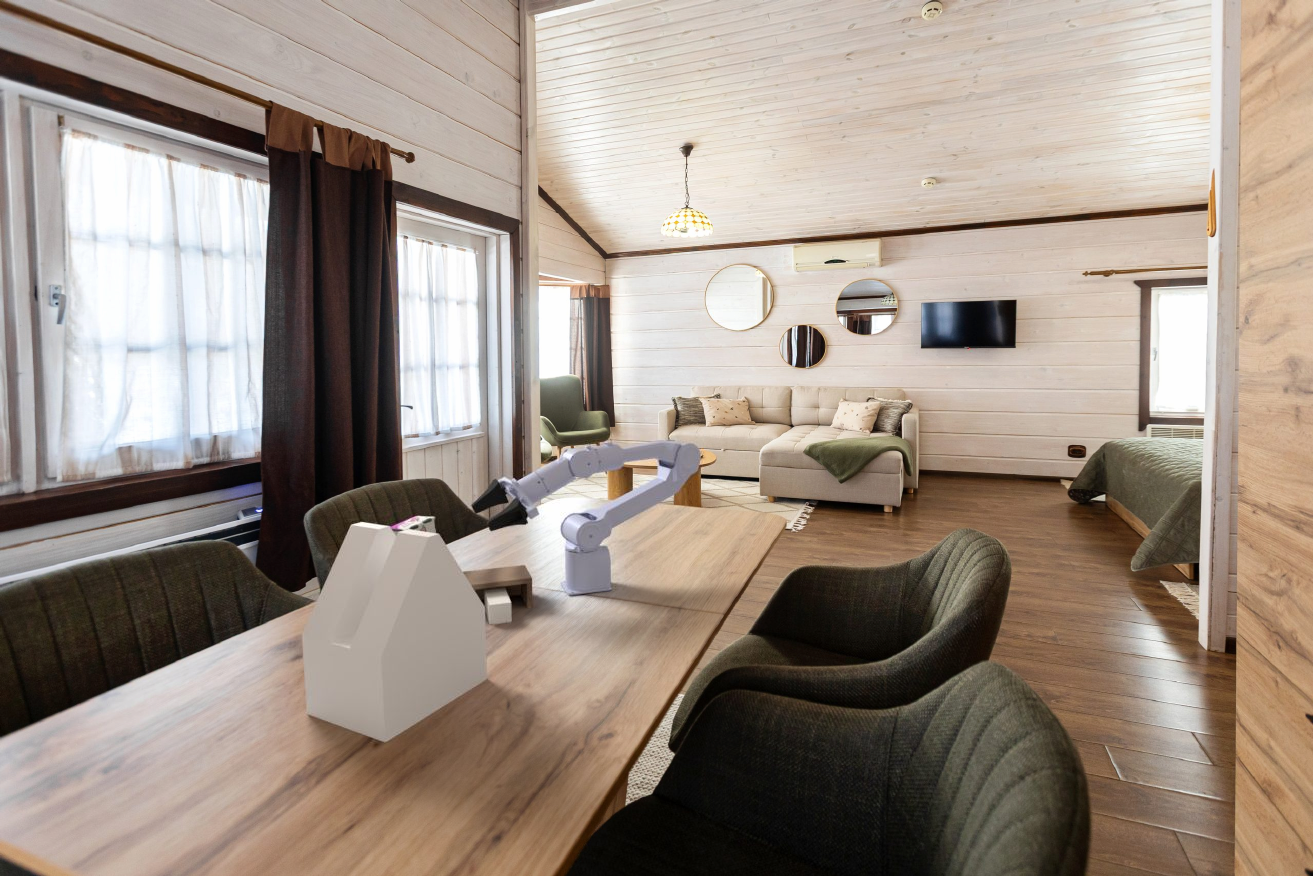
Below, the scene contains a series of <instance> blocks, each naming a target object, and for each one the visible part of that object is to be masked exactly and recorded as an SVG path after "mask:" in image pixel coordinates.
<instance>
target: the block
mask: <svg viewBox="0 0 1313 876" xmlns="http://www.w3.org/2000/svg"><path fill="white" fill-rule="evenodd" d="M483 600H484V603H483V604H484V607H485V615H486V617H487V621H488V622H489V626H490V625H491V624H492V625H499V624H505V623H506V622H507V623H511V622H512V620H513V619H512V601H511V599H510V596H508V594H507V592H506V589H505V587H502V588H494V589H485V590H484V599H483ZM507 623H506V624H507ZM492 625H491V626H492Z"/></svg>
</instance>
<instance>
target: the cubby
mask: <svg viewBox="0 0 1313 876" xmlns="http://www.w3.org/2000/svg"><path fill="white" fill-rule="evenodd" d="M463 573H464V575H465V576H466V578H467V579H468V581H469V583H470V584H471V586H472V587H473V589H474V591H475V592H476V594H477V595H478V597H479V599H480V600H481V601H482V600H484V590H485V589H494V588H502V587H505V589H506V592H507V594H508V596H509V597H513V595H515V596H521V597H522V599H523V600H524V601H523V602H525V605H526V608H527V609H528V608H530V607H531V608H533V607H534V605H533V604H534V603H533V602H534V601H533V599H534V597H533V595H534V594H533V577H532V574H531V573H530V571H529V570H528V568H527V566H526V565H525V564H522V565H513V566H504V567H493V568H484V569H477V570H475V569H474V570H466V571H463Z"/></svg>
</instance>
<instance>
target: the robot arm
mask: <svg viewBox="0 0 1313 876" xmlns="http://www.w3.org/2000/svg"><path fill="white" fill-rule="evenodd" d="M603 443H604V444H603V445H595V446H591V445H584V446H583V449H579V448H569V449H567V448H566V449H565V450H563V451H562V453H560V455H559V457H558V458H556V459H555V460H553V461H550V462H549V463H547V464H546V465H545V464H544V466H542V467H540V468H538V469H537V470H535V471H533V472H531V473H529V474H527V475H526V476H524V477H522V478H521V479H518V480H517V479H516V478H514V477H513V478H512V479H509V478H507V477H506V476H502V477H501V478H499V479H497V478H494V479H492V480H491V483H490V485H489V486H488V487H487V488H486V489H485V491H484V492H483V493H482V494H481V495H480V496H479V497H478V498H477V499H476V500H475V501H474V502H472V503H471V504H470V506H471V508H472V511H473V513H474V514H479V513H482V512H485V511H486V510H488V509H490V508H493V507H496V506H499V505H503V504H504V505H505V504H507V506H506V507H505V508H503V510H501V511H500V512H498V513H497V514H495V515H494V516H492V517H491V518H489V519H488V520H487V521H486V524H487V527H488V529H489V531H490V532H495V531H497V530H501V529H504V528H507V527H508V528H509V527H513V526H526V525H528V524H529V521H528V518H529V519H530V520H533V519H534V518H535V517H538V516H539V515H540V512H539V509H538V508H537V506H536V505H535V504H536V503H538V502H540V501H543V499H545V498H546V497H549V496H550V495H552V494H554V493H555V492H557V491H559V490H560V489H562V488H564V487H566V486H567V485H569V484H570V483H572V482H574V481H576V480H577V478H578V479H589V478H590V477H591V476H593V475H595V474H599V473H604V472H605V473H606V472H610V471H616V470H621V469H622V467H623V466H624V464H625V463H629V462H638V461H644V460H653V459H655V460H657V475H656V477H655V478H653V479H651V480H650V481H648V482H645V483H644V484H642V485H640V486H638V487H636V488H634V489H633V490H631V491H629V492H627V493H625V494H622V495H621V496H619V497H617V498H615V499H613V500H612V501H609V502H607V503H606V504H604V505H602V506H600V507H596V508H590V509H586V510H584V511H582V512H573V513H572V512H571V513H569V514H567V515H566V516H565V517H563V519H562V521H561V522H560V528H559V530H560V534H561V536H562V537H563V539H565V543H564V544H565V545H564V555H565V556H564V557H565V558H564V559H565V561H564V563H565V564H564V566H565V581H560V585H561V587H562V588H563V589H564V591H565V593H566V594H567V595H568V596H575V595H582V594H592V593H599V592H607V591H611V590H613V589H612V577H611V575H612V573H611V572H612V563H611V553H610V550H609V547H608V546H607V545H601V544H602V542H603V541H604V540H605V539H608V538H609V537H610V536H611V534H612V531H613V529H614V528H616V527H617V526H620V525H621V524H623V523H624V522H627V521H628V520H631V519H633V518H634V517H636V516H637V515H640V514H642V513H643V512H645V511H647V510H648V509H651V508H652V507H654V506H656V505H658V504H660V503H661V502H663V501H666V500H667V499H669V498H670V497H673V496H674V495H676V494H678V493H679V492H680V490H681V489H682V487H683V486H684V485H685V484H686V483H687V481H688V480H689V478H690V477H691V475H694V474H695V473H697V472H698V471H699V469H700V468H699V467H700V463H701V459H702V454H701V450H700V448H699V447H698V446H697V445H696V444H695V443H691V442H681V441H676V440H674V439H666V440H664V439H658V440H654V441H648V442H643V443H639V444H638V443H637V444H633V445H630V446H623V447H622V446H620V445H619V444H618V443H615V442H613V441H610V440H609V441H605V442H603ZM507 495H508V496H509V498H510V499H511V500H512V501H511V502H510V503H509V500H508V499H509V498H508V497H507Z"/></svg>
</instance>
